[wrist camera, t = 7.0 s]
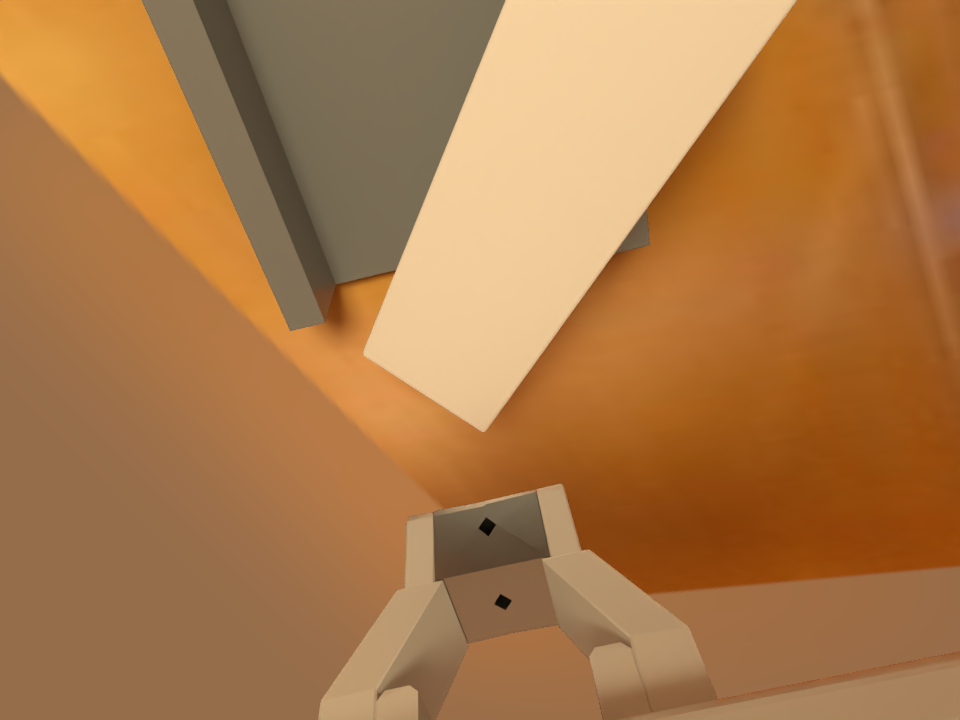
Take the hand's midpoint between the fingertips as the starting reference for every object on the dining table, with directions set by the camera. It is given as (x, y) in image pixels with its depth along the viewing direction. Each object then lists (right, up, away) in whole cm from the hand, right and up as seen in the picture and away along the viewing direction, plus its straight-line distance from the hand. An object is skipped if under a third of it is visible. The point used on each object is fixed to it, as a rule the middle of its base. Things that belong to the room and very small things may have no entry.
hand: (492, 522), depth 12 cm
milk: (-2, +3, +16) cm, 16 cm away
